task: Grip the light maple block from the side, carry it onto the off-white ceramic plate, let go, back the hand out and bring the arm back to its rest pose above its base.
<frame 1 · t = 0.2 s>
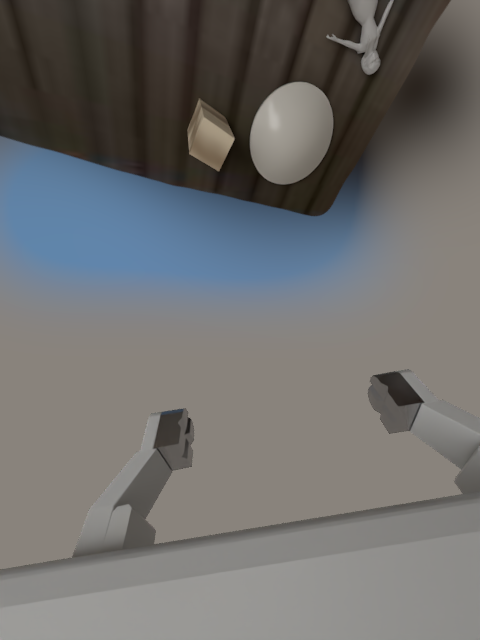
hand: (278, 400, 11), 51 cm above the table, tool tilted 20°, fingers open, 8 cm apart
plate: (290, 138, 48), on the table
maple block: (206, 123, 44), on the table
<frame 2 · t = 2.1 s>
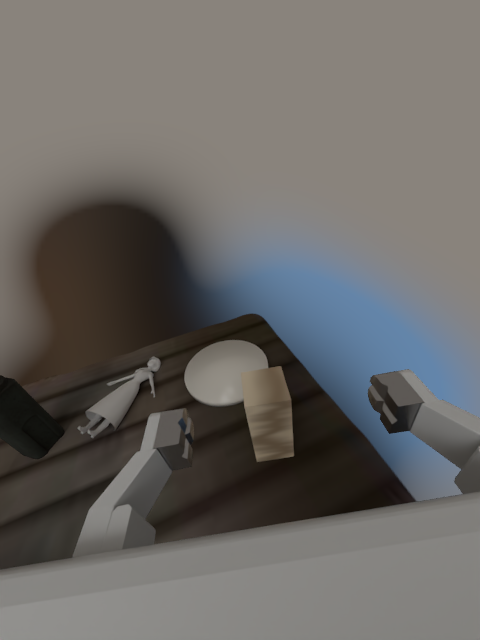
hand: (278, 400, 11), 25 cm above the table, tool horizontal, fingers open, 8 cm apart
plate: (226, 370, 47), on the table
maple block: (272, 441, 35), on the table
woman figurine: (131, 398, 46), on the table
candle: (44, 442, 41), on the table
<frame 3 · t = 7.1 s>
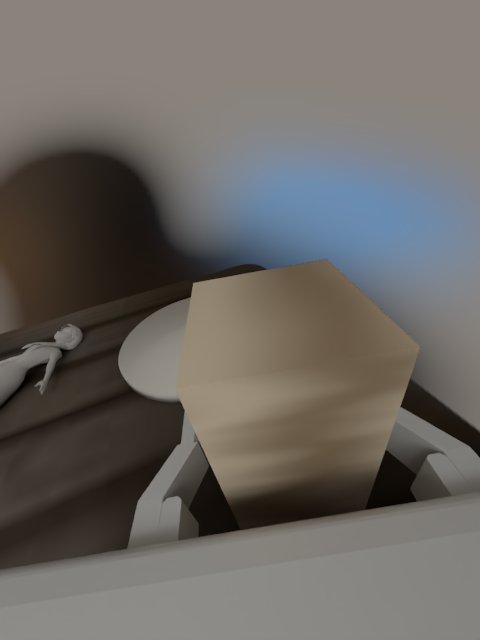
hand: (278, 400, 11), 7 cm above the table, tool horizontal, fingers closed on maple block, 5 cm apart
plate: (199, 338, 26), on the table
maple block: (290, 486, 14), on the table, touching gripper
woman figurine: (11, 396, 24), on the table
when the fingers open (9 cm above the table, at t = 14.7 s): maple block drops 1 cm, resting on plate.
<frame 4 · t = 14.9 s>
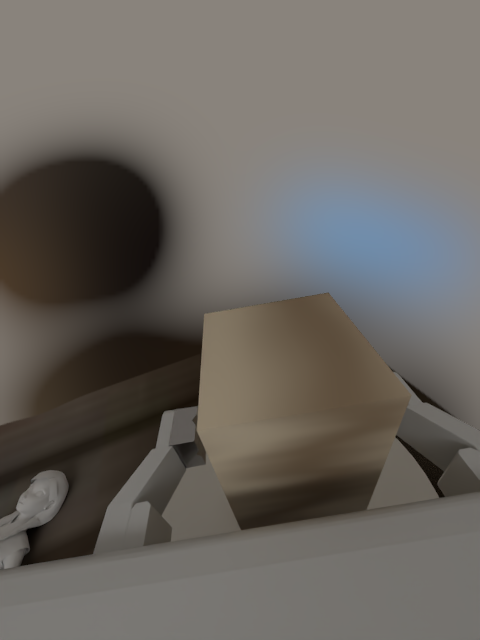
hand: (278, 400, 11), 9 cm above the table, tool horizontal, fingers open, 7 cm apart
plate: (291, 503, 15), on the table
maple block: (290, 496, 15), point 1 cm above the table, touching plate
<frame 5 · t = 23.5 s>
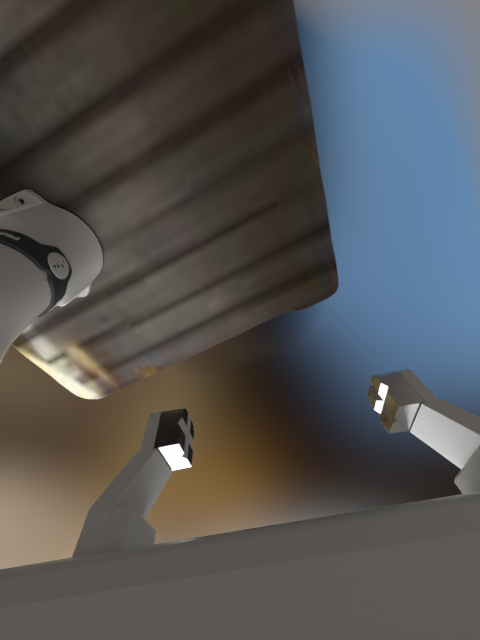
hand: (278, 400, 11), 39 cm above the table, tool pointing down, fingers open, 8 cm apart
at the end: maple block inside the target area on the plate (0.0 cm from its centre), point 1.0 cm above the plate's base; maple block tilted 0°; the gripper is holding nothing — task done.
